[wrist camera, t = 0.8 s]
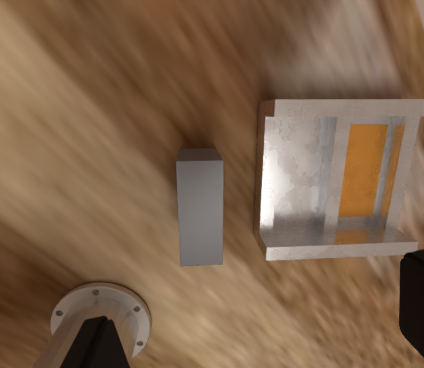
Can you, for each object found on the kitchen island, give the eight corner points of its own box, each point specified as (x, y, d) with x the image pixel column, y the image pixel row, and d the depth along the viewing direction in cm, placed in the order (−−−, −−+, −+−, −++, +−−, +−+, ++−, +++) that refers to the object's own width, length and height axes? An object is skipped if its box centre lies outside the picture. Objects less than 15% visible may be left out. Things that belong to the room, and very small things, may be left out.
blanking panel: (216, 228, 32) (223, 264, 25) (182, 229, 32) (179, 266, 25) (216, 147, 30) (224, 160, 22) (180, 148, 30) (175, 161, 22)
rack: (377, 232, 34) (415, 256, 28) (253, 236, 33) (265, 263, 27) (401, 101, 30) (451, 99, 24) (258, 101, 29) (275, 99, 23)
